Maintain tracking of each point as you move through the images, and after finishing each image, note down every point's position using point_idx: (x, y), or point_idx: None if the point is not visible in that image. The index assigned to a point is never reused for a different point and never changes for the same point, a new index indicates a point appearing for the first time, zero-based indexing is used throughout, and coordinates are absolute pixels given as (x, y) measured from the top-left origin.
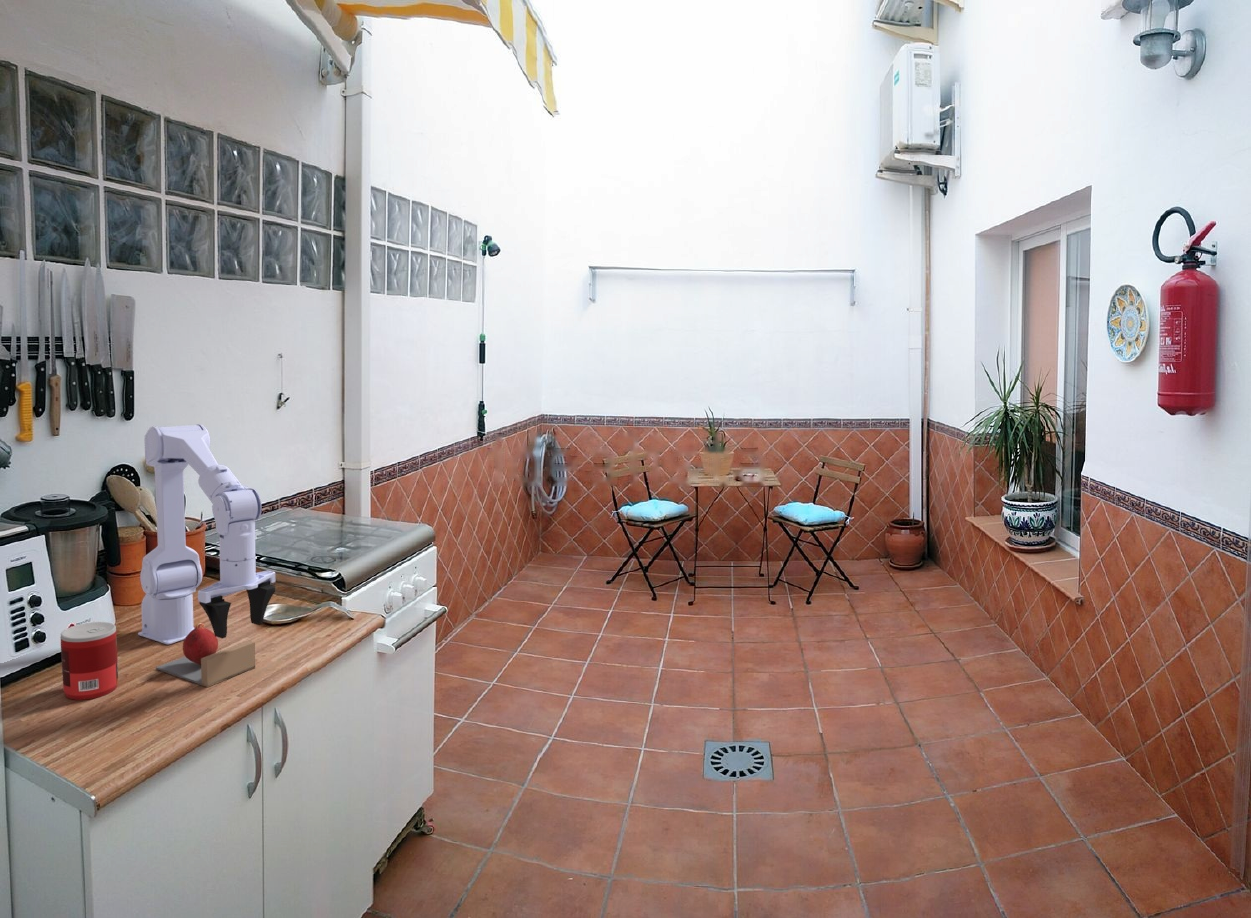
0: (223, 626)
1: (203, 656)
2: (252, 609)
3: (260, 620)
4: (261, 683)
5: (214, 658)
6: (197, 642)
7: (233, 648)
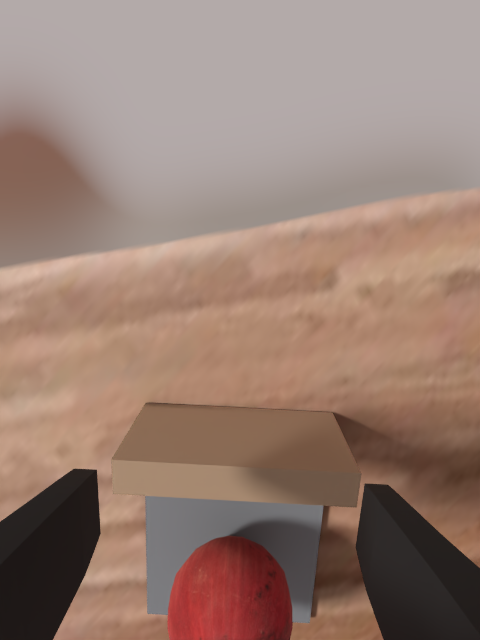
0: (449, 547)
1: (257, 548)
2: (41, 632)
3: (76, 486)
4: (222, 290)
5: (323, 468)
6: (271, 619)
7: (211, 481)
